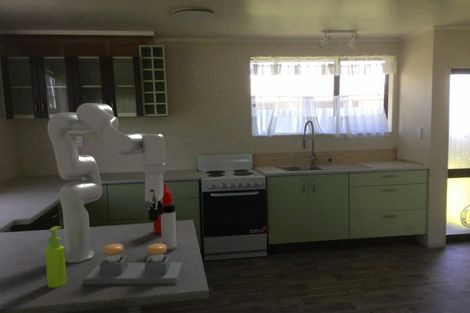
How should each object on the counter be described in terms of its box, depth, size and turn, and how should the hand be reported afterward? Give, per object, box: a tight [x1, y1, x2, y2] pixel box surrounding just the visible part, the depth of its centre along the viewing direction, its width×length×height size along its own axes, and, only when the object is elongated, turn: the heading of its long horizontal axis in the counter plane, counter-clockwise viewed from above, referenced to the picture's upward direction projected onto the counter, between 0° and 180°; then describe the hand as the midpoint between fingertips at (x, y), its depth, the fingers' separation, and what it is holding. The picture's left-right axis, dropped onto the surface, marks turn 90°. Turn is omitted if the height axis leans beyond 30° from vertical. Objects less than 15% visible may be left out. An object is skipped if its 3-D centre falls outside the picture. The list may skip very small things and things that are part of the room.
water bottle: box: [153, 182, 173, 235], centre depth 185 cm, size 9×11×25 cm
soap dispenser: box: [45, 225, 67, 289], centre depth 127 cm, size 6×7×20 cm
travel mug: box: [160, 204, 177, 252], centre depth 161 cm, size 6×7×20 cm
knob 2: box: [147, 243, 168, 263], centre depth 133 cm, size 7×7×6 cm
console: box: [84, 254, 183, 285], centre depth 134 cm, size 32×14×6 cm, turn 90°
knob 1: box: [102, 243, 124, 263], centre depth 133 cm, size 7×7×6 cm
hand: (156, 217), depth 132 cm, fingers open, 7 cm apart
